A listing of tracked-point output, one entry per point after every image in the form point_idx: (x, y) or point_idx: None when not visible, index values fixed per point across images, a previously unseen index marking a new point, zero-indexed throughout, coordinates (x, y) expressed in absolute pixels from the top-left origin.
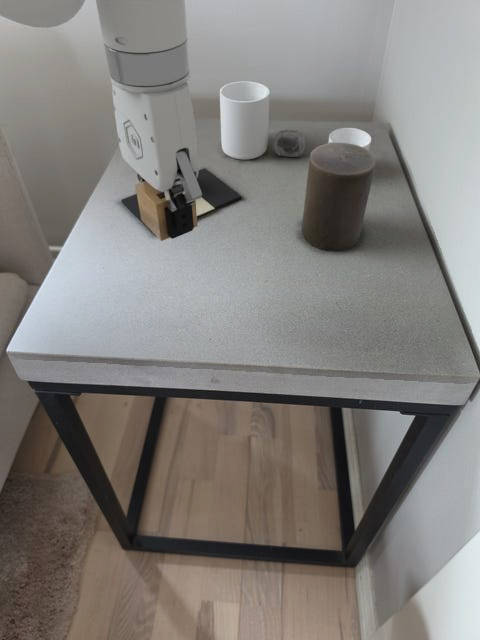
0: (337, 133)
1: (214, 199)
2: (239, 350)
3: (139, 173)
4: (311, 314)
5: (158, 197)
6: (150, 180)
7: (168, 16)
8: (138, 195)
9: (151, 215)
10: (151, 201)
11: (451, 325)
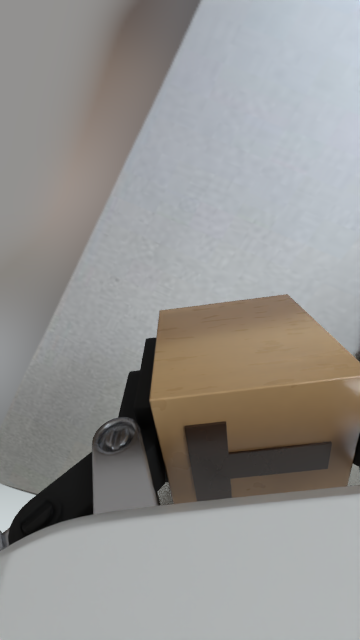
0: None
1: None
2: (82, 305)
3: (313, 515)
4: (106, 401)
5: (197, 425)
6: (108, 576)
7: None
8: (323, 347)
9: (210, 338)
10: (193, 390)
11: (42, 489)
